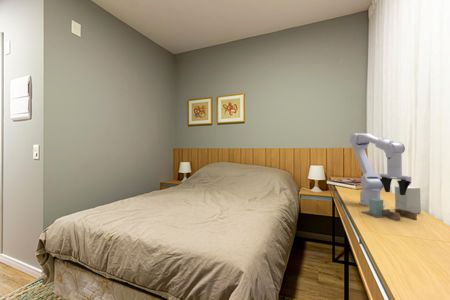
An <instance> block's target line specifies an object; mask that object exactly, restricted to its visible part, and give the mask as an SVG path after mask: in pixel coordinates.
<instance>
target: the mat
mask: <svg viewBox="0 0 450 300" xmlns="http://www.w3.org/2000/svg"><path fill="white" fill-rule="evenodd" d="M360 212H361V213H362V214H364V215H367V216H370V217H373V218H377V219H378V218H379V219H380V218H388V217H387V216H384V215H375V214H372V213H369V210H367V211H366V210H365V211H364V210H363V211H360Z"/></svg>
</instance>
